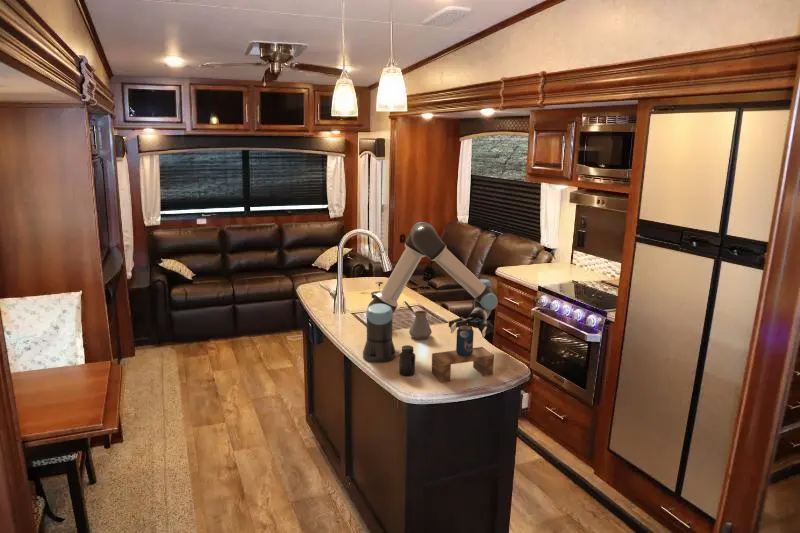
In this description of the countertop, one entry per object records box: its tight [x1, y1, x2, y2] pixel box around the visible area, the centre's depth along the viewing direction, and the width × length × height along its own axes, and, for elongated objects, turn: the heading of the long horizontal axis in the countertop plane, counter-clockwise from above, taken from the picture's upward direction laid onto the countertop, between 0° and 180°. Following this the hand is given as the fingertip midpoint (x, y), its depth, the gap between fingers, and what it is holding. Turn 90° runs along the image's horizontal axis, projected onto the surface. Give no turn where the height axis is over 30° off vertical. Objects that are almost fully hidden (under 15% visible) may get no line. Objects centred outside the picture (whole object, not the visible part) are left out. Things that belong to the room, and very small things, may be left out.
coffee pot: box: [402, 301, 433, 340], centre depth 279 cm, size 21×12×15 cm, turn 32°
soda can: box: [455, 324, 475, 357], centre depth 229 cm, size 7×7×12 cm
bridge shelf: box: [431, 346, 495, 384], centre depth 231 cm, size 24×10×9 cm, turn 111°
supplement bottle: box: [398, 344, 416, 378], centre depth 230 cm, size 7×7×12 cm
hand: (467, 332), depth 233 cm, fingers open, 13 cm apart
